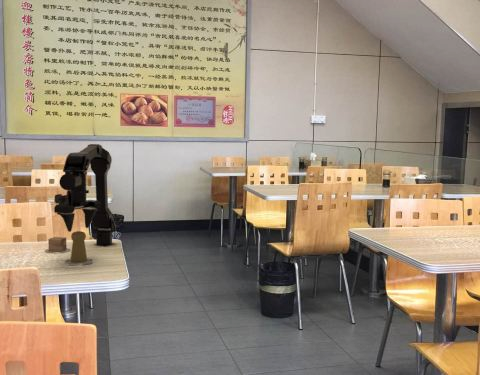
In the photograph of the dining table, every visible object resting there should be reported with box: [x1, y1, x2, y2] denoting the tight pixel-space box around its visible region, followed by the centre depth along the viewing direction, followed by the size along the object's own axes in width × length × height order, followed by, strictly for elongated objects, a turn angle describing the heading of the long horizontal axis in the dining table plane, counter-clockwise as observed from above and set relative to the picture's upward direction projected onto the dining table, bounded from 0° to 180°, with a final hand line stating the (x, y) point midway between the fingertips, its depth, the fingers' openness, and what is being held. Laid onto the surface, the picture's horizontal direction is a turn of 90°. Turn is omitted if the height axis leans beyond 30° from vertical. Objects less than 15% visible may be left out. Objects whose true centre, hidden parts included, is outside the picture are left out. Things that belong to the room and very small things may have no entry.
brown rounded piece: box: [70, 230, 88, 263], centre depth 197 cm, size 6×6×11 cm
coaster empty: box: [64, 257, 94, 267], centre depth 197 cm, size 10×10×1 cm
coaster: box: [43, 247, 72, 255], centre depth 213 cm, size 10×10×1 cm
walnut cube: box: [47, 236, 67, 252], centre depth 213 cm, size 5×5×5 cm
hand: (78, 229), depth 196 cm, fingers open, 9 cm apart
